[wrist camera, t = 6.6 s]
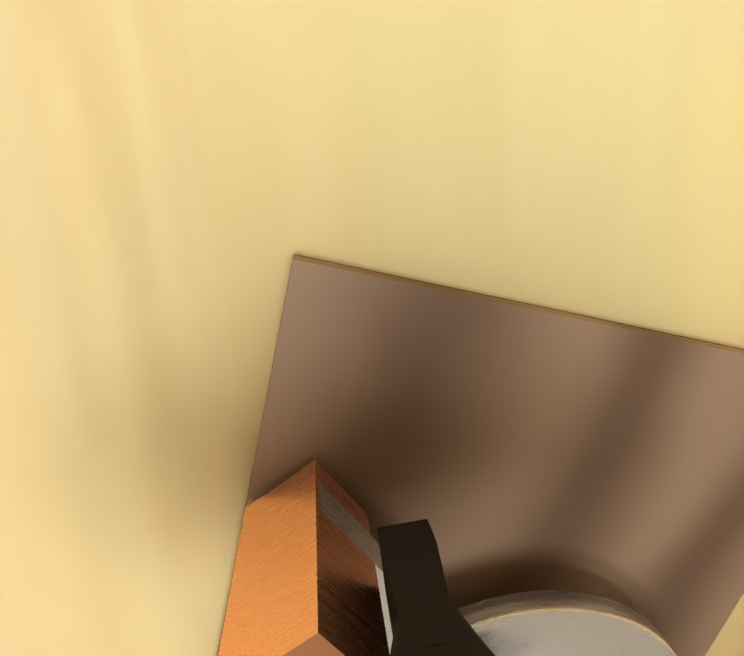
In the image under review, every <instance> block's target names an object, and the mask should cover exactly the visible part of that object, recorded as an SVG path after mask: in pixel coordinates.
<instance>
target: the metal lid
mask: <svg viewBox="0 0 744 656" xmlns="http://www.w3.org/2000/svg"><path fill="white" fill-rule="evenodd" d="M458 610H459V611H460V613H461V614H462V615H463V617H464V618H465V619H466V620H467V622H468V623H469V624H470V626H471V627H472V628H473V629H474V631H475V632H476V633H477V634H478V636H479V637H480V638H481V639H482V640H483V642H484V643H485V644H486V645H487V646H488V648H489V649H490V650H491V651H492V652H493V653H494V654H495V656H677V655H676V654H675V652H674V651H673V650H672V648H671V647H670V646H669V644H668V643H667V642H666V640H665V639H664V638H663V636H662V635H661V633H660V632H659V631H658V630H657V629H656V628H655V627H654V625H653V624H652V623H651V622H650V621H649V620H647V619H646V618H645V617H643V616H642V615H641V614H640V613H638V612H637V611H635V610H633V609H631V608H629V607H628V606H626V605H624V604H622V603H620V602H617V601H614V600H611V599H608V598H605V597H602V596H598V595H593V594H588V593H583V592H574V591H562V590H547V591H529V592H522V593H514V594H507V595H503V596H499V597H494V598H490V599H486V600H482V601H479V602H476V603H473V604H470V605H467V606H464V607H461V608H458ZM392 640H393V635H392V629H391V623H390V617H389V610H388V604H387V598H386V591H385V584H384V577H383V569H382V562H381V555H380V548H379V543H378V542H377V541H376V540H375V539H374V538H373V537H372V536H371V535H370V529H369V523H368V517H367V513H366V512H365V511H364V510H363V509H362V508H361V507H360V506H359V505H358V504H357V503H356V502H355V501H354V500H353V499H352V498H351V497H350V496H349V495H348V493H347V492H346V491H345V490H344V489H343V488H342V487H341V486H340V485H339V484H338V483H337V482H336V481H335V480H334V479H333V478H332V477H331V476H330V475H329V474H328V472H327V471H326V470H325V469H324V468H323V467H322V466H321V465H320V464H319V463H318V462H317V461H316V460H313V461H312V462H311V463H309V464H308V465H306V466H305V467H303V468H302V469H301V470H299V471H298V472H296V473H295V474H293V475H292V476H290V477H289V478H288V479H286V480H285V481H283V482H282V483H280V484H279V485H277V486H276V487H275V488H273V489H272V490H270V491H269V492H267V493H266V494H265V495H263V496H262V497H260V498H259V499H257V500H256V501H254V502H253V503H252V504H250V505H249V506H247V507H246V508H245V512H244V517H243V523H242V528H241V533H240V539H239V544H238V550H237V555H236V561H235V566H234V572H233V577H232V583H231V588H230V593H229V599H228V604H227V610H226V615H225V621H224V626H223V632H222V637H221V643H220V648H219V654H218V656H390V651H391V646H392Z"/></svg>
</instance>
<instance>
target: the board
mask: <svg viewBox="0 0 744 656" xmlns="http://www.w3.org/2000/svg"><path fill="white" fill-rule="evenodd" d="M313 460H316V461H317V462H318V463H319V464H320V465H321V466H322V467H323V468H324V469H325V470H326V471H327V472H328V474H329V475H330V476H331V477H332V478H333V479H334V480H335V481H336V482H337V483H338V484H339V485H340V486H341V487H342V488H343V489H344V490H345V491H346V492H347V493H348V495H349V496H350V497H351V498H352V499H353V500H354V501H355V502H356V503H357V504H358V505H359V506H360V507H361V508H362V509H363V510H364V511H365V512H366V513H367V517H368V523H369V529H370V535H371V536H372V537H373V538H374V539H375V540H376V541H377V542H378V543H379V540H378V533H377V527H383V526H389V525H395V524H400V523H406V522H412V521H418V520H423V519H427V520H428V522H429V524H430V527H431V529H432V531H433V534H434V536H435V539H436V541H437V545H438V550H439V554H440V559H441V563H442V567H443V572H444V576H445V581H446V586H447V590H448V595H449V598H450V599H451V601H452V602H453V603H454V605H455V606H456V607H457V609H458V608H461V607H464V606H467V605H470V604H473V603H476V602H479V601H482V600H486V599H490V598H494V597H499V596H503V595H507V594H514V593H522V592H529V591H547V590H562V591H574V592H583V593H588V594H593V595H598V596H602V597H605V598H608V599H611V600H614V601H617V602H620V603H622V604H624V605H626V606H628V607H629V608H631V609H633V610H635V611H637V612H638V613H640V614H641V615H642V616H643V617H645V618H646V619H647V620H649V621H650V622H651V623H652V624H653V625H654V627H655V628H656V629H657V630H658V631H659V632H660V633H661V635H662V636H663V638H664V639H665V640H666V642H667V643H668V644H669V646H670V647H671V648H672V650H673V651H674V652H675V654H676V655H677V656H705V655H706V653H707V651H708V650H709V648H710V646H711V645H712V643H713V642H714V640H715V638H716V637H717V635H718V634H719V632H720V630H721V629H722V627H723V625H724V624H725V622H726V621H727V619H728V617H729V616H730V614H731V612H732V611H733V609H734V608H735V606H736V604H737V603H738V601H739V599H740V598H741V596H742V595H743V593H744V350H742V349H737V348H732V347H728V346H723V345H718V344H714V343H709V342H704V341H699V340H695V339H690V338H685V337H680V336H676V335H671V334H666V333H662V332H657V331H652V330H647V329H643V328H638V327H633V326H629V325H624V324H619V323H614V322H610V321H605V320H600V319H595V318H591V317H586V316H581V315H577V314H572V313H567V312H562V311H558V310H553V309H548V308H544V307H539V306H534V305H529V304H525V303H520V302H515V301H511V300H506V299H501V298H496V297H492V296H487V295H482V294H477V293H473V292H468V291H463V290H459V289H454V288H449V287H444V286H440V285H435V284H430V283H426V282H421V281H416V280H411V279H407V278H402V277H397V276H393V275H388V274H383V273H378V272H374V271H369V270H364V269H359V268H355V267H350V266H345V265H341V264H336V263H331V262H326V261H322V260H317V259H312V258H308V257H303V256H298V255H294V256H293V262H292V267H291V272H290V277H289V283H288V288H287V293H286V298H285V304H284V309H283V314H282V319H281V325H280V330H279V335H278V340H277V346H276V351H275V356H274V361H273V367H272V372H271V377H270V382H269V388H268V393H267V398H266V403H265V409H264V414H263V419H262V424H261V430H260V435H259V440H258V446H257V451H256V456H255V461H254V467H253V472H252V477H251V482H250V488H249V493H248V498H247V503H246V507H247V506H249V505H250V504H252V503H253V502H254V501H256V500H257V499H259V498H260V497H262V496H263V495H265V494H266V493H267V492H269V491H270V490H272V489H273V488H275V487H276V486H277V485H279V484H280V483H282V482H283V481H285V480H286V479H288V478H289V477H290V476H292V475H293V474H295V473H296V472H298V471H299V470H301V469H302V468H303V467H305V466H306V465H308V464H309V463H311V462H312V461H313ZM231 583H232V582H231ZM230 588H231V587H230ZM228 599H229V598H228ZM227 604H228V603H227ZM226 610H227V608H226ZM225 615H226V614H225ZM224 621H225V619H224ZM223 626H224V624H223ZM222 632H223V629H222ZM221 637H222V635H221ZM220 643H221V640H220ZM219 648H220V645H219ZM218 654H219V650H218Z"/></svg>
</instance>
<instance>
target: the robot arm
mask: <svg viewBox="0 0 744 656" xmlns="http://www.w3.org/2000/svg"><path fill="white" fill-rule="evenodd" d="M377 533H378V540H379V548H380V555H381V562H382V569H383V577H384V584H385V591H386V598H387V604H388V610H389V617H390V623H391V629H392V635H393V640H392V646H391V651H390V656H495V654H494V653H493V652H492V651H491V650H490V649H489V648H488V646H487V645H486V644H485V643H484V642H483V640H482V639H481V638H480V637H479V636H478V634H477V633H476V632H475V631H474V629H473V628H472V627H471V626H470V624H469V623H468V622H467V620H466V619H465V618H464V617H463V615H462V614H461V613H460V611H459V610H458V609H457V607H456V606H455V605H454V603H453V602H452V601H451V599H450V598H449V595H448V590H447V586H446V581H445V576H444V572H443V567H442V563H441V559H440V554H439V550H438V545H437V541H436V539H435V536H434V534H433V531H432V529H431V527H430V524H429V522H428V520H427V519H423V520H418V521H412V522H406V523H400V524H395V525H389V526H383V527H377Z"/></svg>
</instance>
